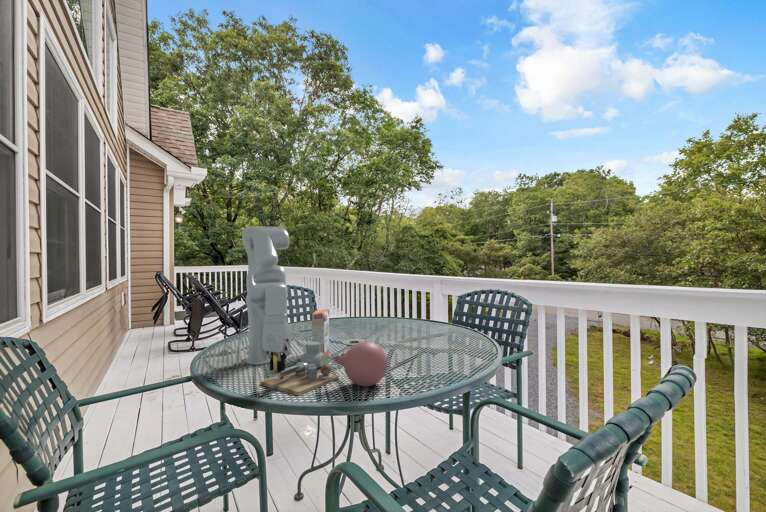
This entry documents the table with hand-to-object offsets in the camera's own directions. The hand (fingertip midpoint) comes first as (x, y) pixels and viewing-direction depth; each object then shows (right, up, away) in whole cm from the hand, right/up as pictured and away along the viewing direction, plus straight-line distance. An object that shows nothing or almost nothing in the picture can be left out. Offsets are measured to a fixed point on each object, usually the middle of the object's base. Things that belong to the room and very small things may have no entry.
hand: (277, 370), depth 132 cm
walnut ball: (+16, -4, +6) cm, 18 cm away
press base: (+7, -6, +5) cm, 10 cm away
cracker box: (+9, -6, +40) cm, 41 cm away
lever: (+4, -3, +5) cm, 7 cm away
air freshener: (+9, -6, +23) cm, 26 cm away
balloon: (+29, -6, 0) cm, 30 cm away
